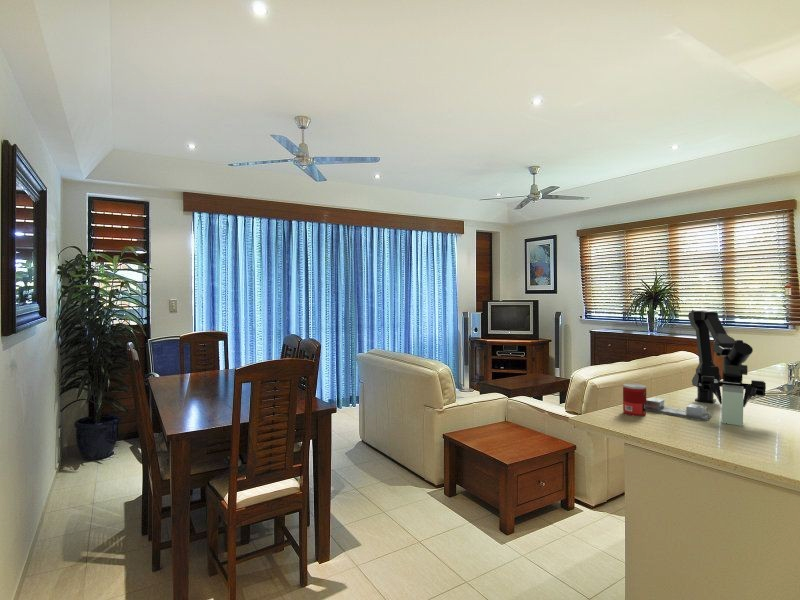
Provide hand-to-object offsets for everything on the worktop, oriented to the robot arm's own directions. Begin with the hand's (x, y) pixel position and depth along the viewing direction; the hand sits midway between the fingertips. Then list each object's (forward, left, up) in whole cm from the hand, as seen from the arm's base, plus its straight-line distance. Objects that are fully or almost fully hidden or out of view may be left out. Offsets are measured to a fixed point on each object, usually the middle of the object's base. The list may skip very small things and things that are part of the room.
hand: (732, 405), depth 158 cm
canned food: (+10, -29, -7) cm, 31 cm away
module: (-1, 0, -7) cm, 7 cm away
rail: (-1, -18, -7) cm, 19 cm away
